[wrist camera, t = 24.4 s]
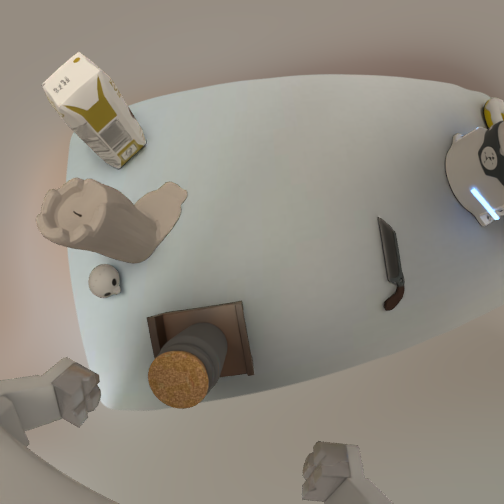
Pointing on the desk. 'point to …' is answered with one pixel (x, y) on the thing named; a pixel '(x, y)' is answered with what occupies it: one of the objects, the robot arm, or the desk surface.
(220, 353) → the bottle
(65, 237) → the candle
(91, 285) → the figurine
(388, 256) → the knife
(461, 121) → the desk surface
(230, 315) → the wooden u-shaped stand
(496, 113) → the donut
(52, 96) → the juice carton
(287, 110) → the desk surface
